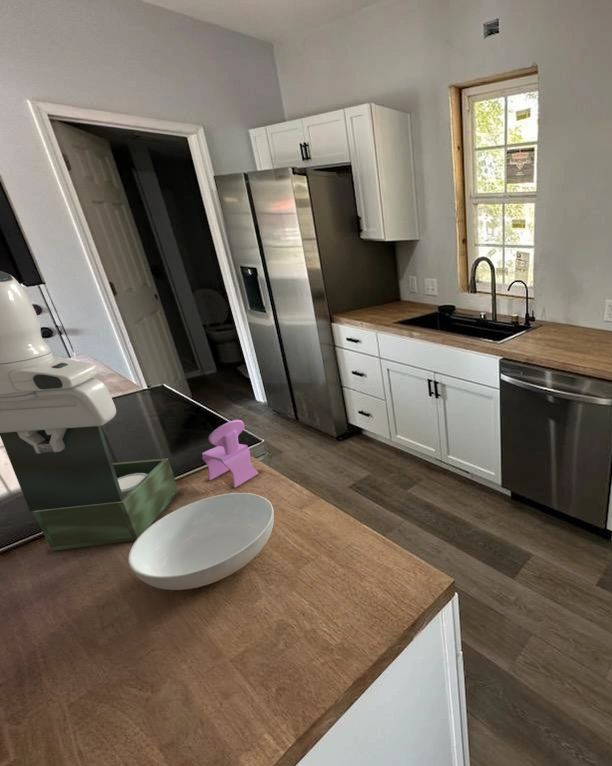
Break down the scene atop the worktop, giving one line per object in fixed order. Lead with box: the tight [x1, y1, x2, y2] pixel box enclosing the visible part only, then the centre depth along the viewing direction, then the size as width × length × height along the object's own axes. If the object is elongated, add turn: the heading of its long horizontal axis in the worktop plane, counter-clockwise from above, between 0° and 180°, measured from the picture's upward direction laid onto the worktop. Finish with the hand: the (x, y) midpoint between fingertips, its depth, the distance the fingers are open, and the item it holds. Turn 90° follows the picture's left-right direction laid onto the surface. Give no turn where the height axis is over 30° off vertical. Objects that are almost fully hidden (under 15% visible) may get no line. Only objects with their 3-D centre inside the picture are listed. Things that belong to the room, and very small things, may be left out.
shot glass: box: [118, 473, 148, 498], centre depth 84 cm, size 7×7×7 cm
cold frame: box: [32, 457, 180, 552], centre depth 83 cm, size 16×14×9 cm
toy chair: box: [201, 419, 259, 488], centre depth 96 cm, size 8×9×15 cm
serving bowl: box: [127, 492, 275, 591], centre depth 74 cm, size 21×21×7 cm
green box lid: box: [0, 426, 124, 512], centre depth 71 cm, size 17×14×1 cm
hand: (51, 451), depth 69 cm, fingers closed, pressing on green box lid
